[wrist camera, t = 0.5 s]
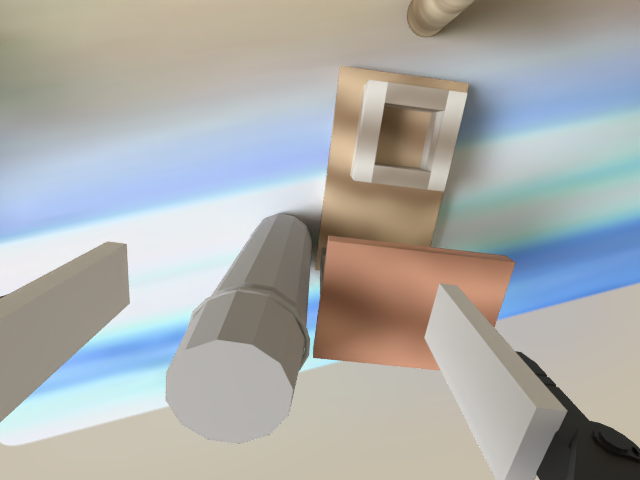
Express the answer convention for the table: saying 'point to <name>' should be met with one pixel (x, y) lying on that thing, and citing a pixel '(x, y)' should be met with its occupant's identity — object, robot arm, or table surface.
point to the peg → (433, 14)
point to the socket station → (392, 221)
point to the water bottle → (247, 339)
